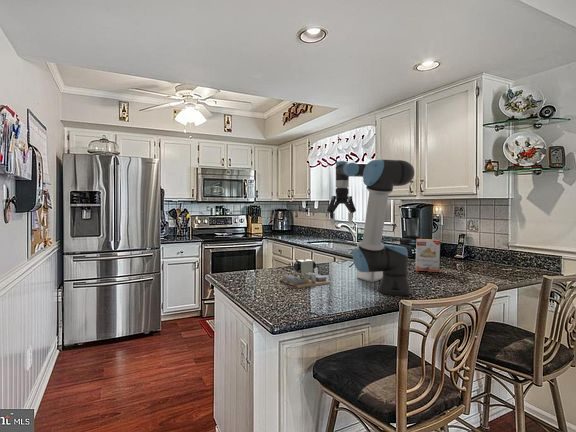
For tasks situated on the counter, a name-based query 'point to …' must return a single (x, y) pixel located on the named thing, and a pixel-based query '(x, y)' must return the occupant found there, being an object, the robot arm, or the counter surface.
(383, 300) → the counter surface
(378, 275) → the soap dispenser
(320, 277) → the hinge leaves
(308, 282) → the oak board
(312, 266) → the pneumatic valve
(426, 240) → the cracker box
